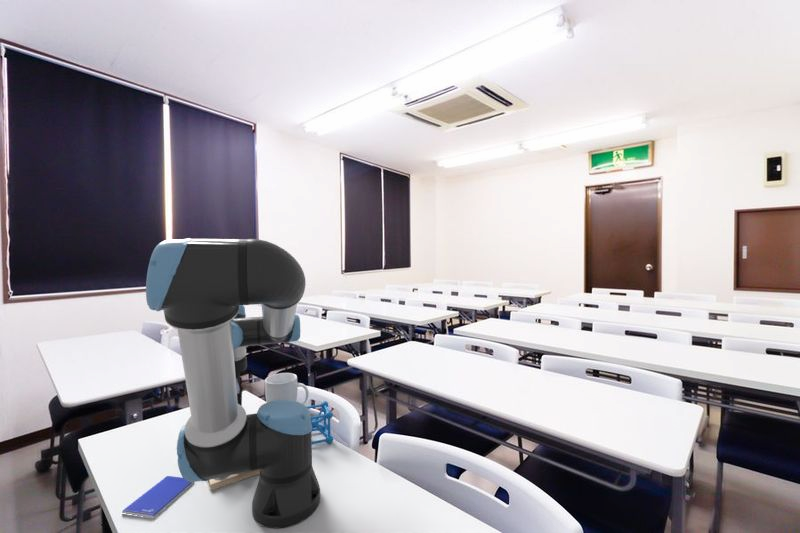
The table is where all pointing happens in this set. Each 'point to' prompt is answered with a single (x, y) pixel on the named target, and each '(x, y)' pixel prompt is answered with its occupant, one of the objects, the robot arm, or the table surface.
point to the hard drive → (158, 497)
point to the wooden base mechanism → (230, 479)
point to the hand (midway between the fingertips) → (235, 435)
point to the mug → (283, 387)
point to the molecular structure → (323, 427)
